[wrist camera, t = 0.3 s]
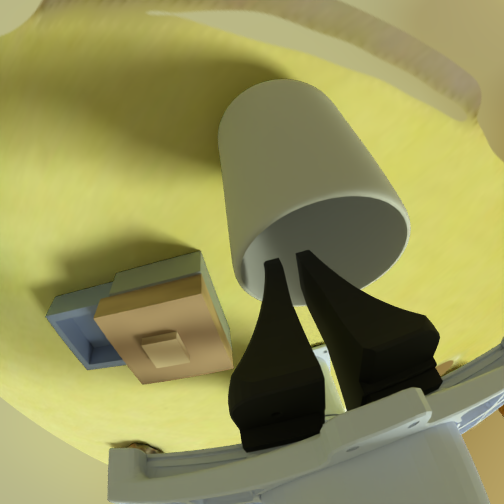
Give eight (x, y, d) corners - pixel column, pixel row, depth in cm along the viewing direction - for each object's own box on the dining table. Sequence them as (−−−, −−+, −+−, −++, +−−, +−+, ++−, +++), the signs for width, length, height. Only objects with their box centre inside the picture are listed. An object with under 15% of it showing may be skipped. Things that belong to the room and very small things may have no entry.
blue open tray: (154, 339, 30) (151, 360, 28) (92, 350, 30) (87, 369, 28) (120, 279, 26) (113, 300, 24) (55, 296, 26) (45, 316, 24)
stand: (229, 328, 31) (232, 350, 28) (156, 343, 31) (154, 365, 28) (200, 250, 26) (200, 271, 23) (116, 273, 26) (108, 294, 23)
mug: (194, 152, 21) (196, 290, 14) (266, 53, 15) (329, 149, 9) (317, 209, 27) (357, 322, 20) (386, 143, 22) (459, 253, 15)
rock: (138, 436, 43) (108, 454, 43) (148, 466, 38) (115, 482, 39) (173, 441, 49) (141, 459, 49) (183, 468, 44) (150, 484, 45)
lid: (231, 348, 28) (234, 375, 25) (144, 365, 28) (141, 391, 25) (201, 273, 23) (201, 300, 21) (100, 298, 23) (90, 325, 21)
